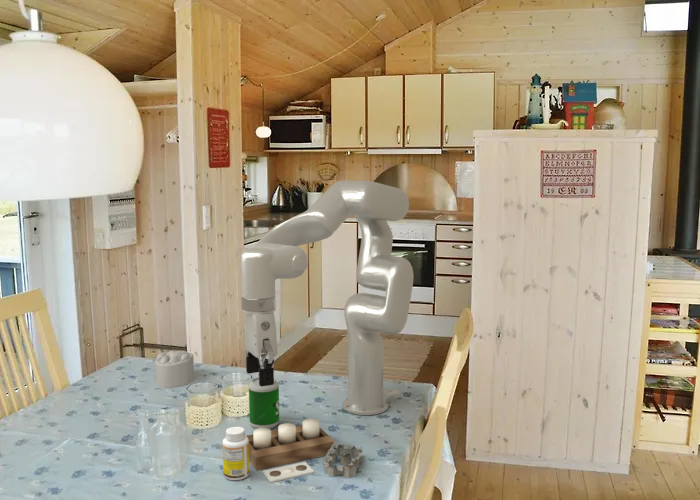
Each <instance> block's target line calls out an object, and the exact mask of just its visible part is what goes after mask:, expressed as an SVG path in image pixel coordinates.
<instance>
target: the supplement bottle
mask: <svg viewBox="0 0 700 500" xmlns="http://www.w3.org/2000/svg"><path fill="white" fill-rule="evenodd" d="M245 431H246V430H245V428H244V427H242V426H232V427H231V426H230V427H229V428H227V429H226V430H225V437H224V438H223V439H222V443H221V446H222V466H223V467H222V469H223V476H224V478H226V480H229V481H241V480H243V479H246V478H247V477H248V476H249V474H250V462H249V440H248V438H247V437H246V436H247V435H246V432H245Z"/></svg>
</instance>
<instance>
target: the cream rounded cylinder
mask: <svg viewBox="0 0 700 500" xmlns="http://www.w3.org/2000/svg"><path fill="white" fill-rule="evenodd" d="M271 431H272V429H268V428H258V429H253V433H252V434H253V440H254V448H255V449H258V450H260V449H265V448H270V447H271Z"/></svg>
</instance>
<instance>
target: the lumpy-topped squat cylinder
mask: <svg viewBox="0 0 700 500" xmlns="http://www.w3.org/2000/svg"><path fill="white" fill-rule="evenodd" d="M154 365H155V385H156V386H157V387H159V388H162V389H174V388H178V387H182V386H184V385H188V384H189V383H191V381H192V380H193V379H194V378H195V366H194V365H195V361H194V354H193V353H191V352H188V351H186V350H170V351H168V352H165V353H164V352H160V353H159V354H158V355H157V357H156V358H155V360H154Z"/></svg>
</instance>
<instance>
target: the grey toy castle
mask: <svg viewBox="0 0 700 500" xmlns="http://www.w3.org/2000/svg"><path fill="white" fill-rule="evenodd" d="M362 455H363V448H362V446H360V447H359V448H358V447H356V445H355V444H354V445H350V444H346V443H340V442H337V441H335V442H334V443H333V444H332V446H331V448H330V450H328V452H327V454H326V456H323V458H322V462H323V466H324V474H325V475H326V474H327V475H328V477H331V478H334V477H336V476H343V477H344V479H350V478H352V477H356V475H357V470H358V469H359V466H360V463H362ZM338 457H339V464H340V465H334V466H333V464H336V462H337V461H336V460H337V458H338ZM353 458H354V459H353Z"/></svg>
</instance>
